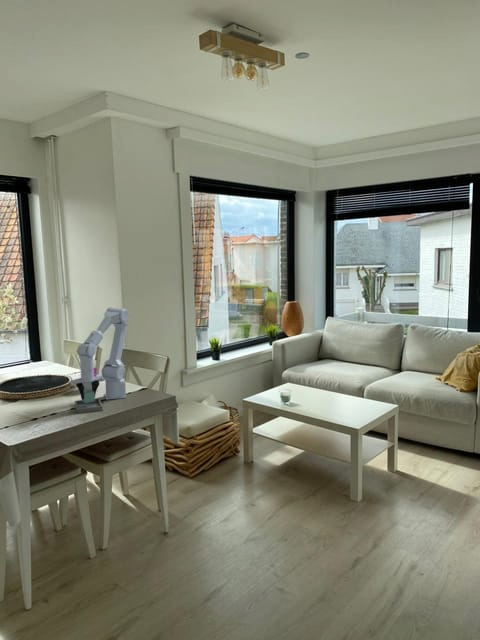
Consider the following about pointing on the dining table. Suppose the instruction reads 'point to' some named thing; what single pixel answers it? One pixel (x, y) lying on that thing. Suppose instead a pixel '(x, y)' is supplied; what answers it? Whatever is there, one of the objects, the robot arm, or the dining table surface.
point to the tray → (88, 406)
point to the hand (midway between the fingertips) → (88, 397)
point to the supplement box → (88, 385)
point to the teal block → (88, 396)
